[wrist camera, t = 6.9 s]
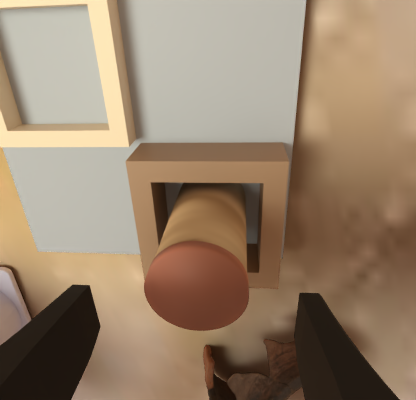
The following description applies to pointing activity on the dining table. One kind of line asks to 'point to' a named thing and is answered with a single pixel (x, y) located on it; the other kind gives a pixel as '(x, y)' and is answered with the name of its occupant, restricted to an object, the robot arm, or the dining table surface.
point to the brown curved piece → (257, 376)
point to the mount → (148, 117)
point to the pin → (202, 259)
